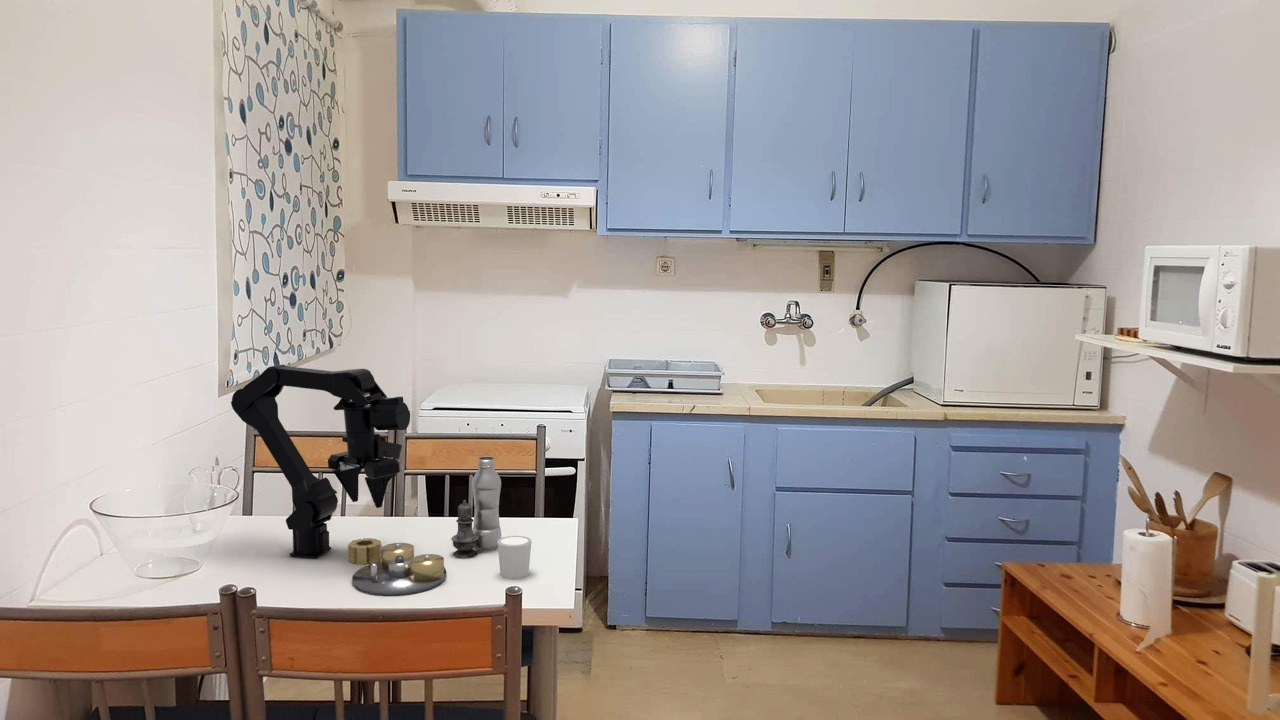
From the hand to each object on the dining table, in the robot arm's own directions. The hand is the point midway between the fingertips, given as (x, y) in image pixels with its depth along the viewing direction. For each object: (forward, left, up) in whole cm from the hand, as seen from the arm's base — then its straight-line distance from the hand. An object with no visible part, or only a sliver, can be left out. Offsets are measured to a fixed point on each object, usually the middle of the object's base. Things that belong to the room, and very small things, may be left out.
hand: (367, 504), depth 197 cm
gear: (-1, 0, -12) cm, 12 cm away
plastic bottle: (+21, +13, -12) cm, 28 cm away
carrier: (+11, -9, -12) cm, 19 cm away
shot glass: (+32, -1, -12) cm, 35 cm away
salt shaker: (+18, +8, -12) cm, 23 cm away
